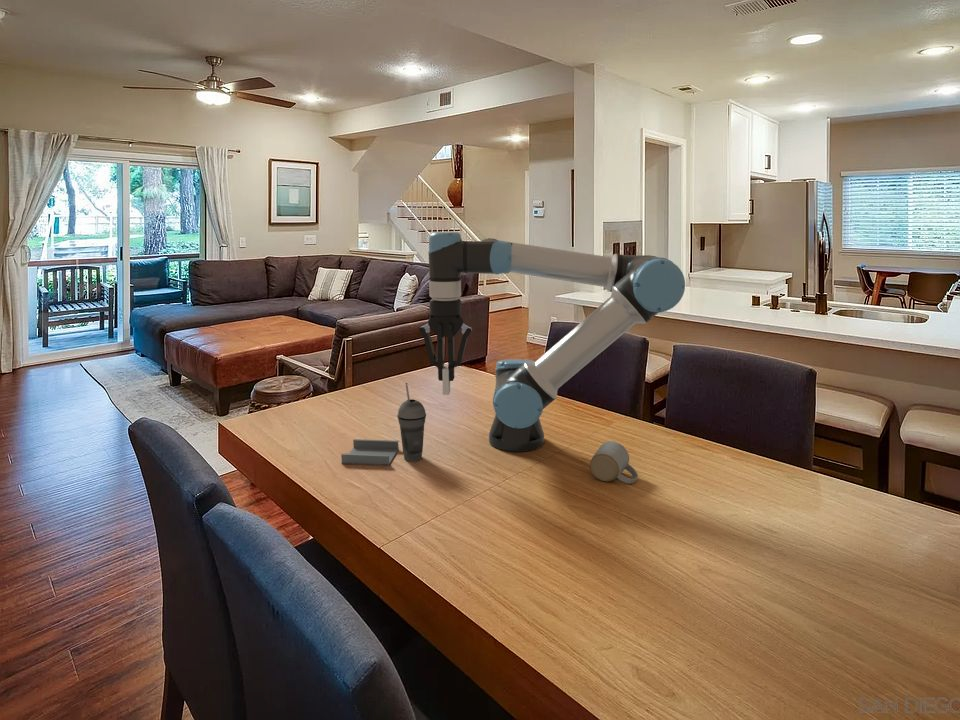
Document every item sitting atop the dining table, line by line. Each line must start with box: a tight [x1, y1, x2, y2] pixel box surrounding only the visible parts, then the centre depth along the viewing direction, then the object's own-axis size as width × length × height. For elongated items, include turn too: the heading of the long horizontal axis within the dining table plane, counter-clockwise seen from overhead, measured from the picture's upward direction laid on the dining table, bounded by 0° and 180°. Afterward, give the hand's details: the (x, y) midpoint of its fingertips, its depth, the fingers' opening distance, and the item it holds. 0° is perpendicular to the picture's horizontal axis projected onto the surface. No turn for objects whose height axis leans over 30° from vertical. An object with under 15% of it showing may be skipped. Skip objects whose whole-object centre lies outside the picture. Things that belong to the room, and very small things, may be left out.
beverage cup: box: [397, 382, 427, 463], centre depth 148 cm, size 7×7×20 cm
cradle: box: [340, 438, 400, 467], centre depth 151 cm, size 12×11×2 cm
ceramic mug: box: [589, 440, 639, 485], centre depth 138 cm, size 11×8×8 cm
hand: (446, 393), depth 145 cm, fingers closed
